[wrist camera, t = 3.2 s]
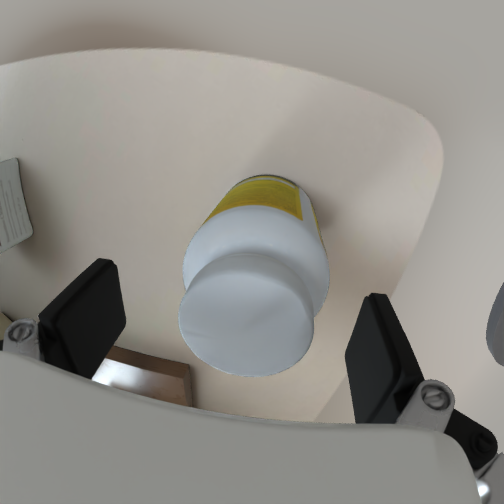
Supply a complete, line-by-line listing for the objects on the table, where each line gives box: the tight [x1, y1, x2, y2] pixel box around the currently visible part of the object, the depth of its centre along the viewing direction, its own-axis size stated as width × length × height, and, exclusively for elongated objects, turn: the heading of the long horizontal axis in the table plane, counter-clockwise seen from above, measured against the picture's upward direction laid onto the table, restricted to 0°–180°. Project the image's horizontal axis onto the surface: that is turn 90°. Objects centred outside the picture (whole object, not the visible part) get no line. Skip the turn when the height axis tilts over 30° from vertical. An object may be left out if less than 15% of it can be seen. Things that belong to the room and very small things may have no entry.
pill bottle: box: [178, 175, 330, 377], centre depth 15 cm, size 6×6×12 cm
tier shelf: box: [92, 346, 193, 408], centre depth 29 cm, size 12×27×9 cm, turn 175°
